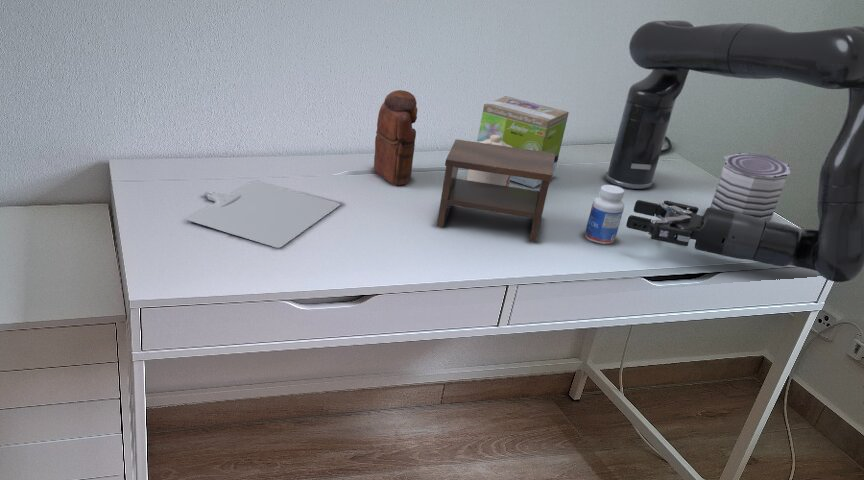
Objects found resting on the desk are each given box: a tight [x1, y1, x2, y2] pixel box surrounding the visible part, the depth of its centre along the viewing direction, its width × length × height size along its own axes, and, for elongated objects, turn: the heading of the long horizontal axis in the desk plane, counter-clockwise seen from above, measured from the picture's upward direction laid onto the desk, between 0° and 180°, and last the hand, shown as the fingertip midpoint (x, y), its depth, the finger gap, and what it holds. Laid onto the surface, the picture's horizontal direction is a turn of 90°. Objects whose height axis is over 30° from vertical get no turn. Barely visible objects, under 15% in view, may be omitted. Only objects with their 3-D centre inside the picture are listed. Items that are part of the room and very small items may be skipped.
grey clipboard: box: [186, 180, 341, 249], centre depth 163 cm, size 25×24×1 cm
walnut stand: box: [436, 138, 555, 243], centre depth 160 cm, size 13×18×13 cm
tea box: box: [476, 95, 570, 189], centre depth 184 cm, size 15×10×15 cm
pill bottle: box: [584, 184, 625, 245], centre depth 157 cm, size 6×5×10 cm
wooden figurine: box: [373, 89, 418, 186], centre depth 179 cm, size 12×6×18 cm, turn 21°
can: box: [709, 152, 791, 222], centre depth 167 cm, size 11×11×12 cm
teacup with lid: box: [465, 135, 512, 187], centre depth 176 cm, size 12×9×12 cm
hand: (631, 213), depth 155 cm, fingers open, 8 cm apart
